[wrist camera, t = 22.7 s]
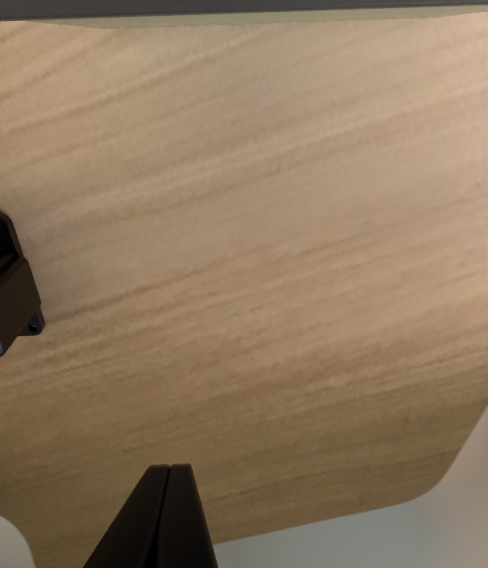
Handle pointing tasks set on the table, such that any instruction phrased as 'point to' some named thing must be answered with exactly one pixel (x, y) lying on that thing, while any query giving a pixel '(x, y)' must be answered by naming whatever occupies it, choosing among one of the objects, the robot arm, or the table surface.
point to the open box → (268, 17)
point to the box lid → (193, 7)
